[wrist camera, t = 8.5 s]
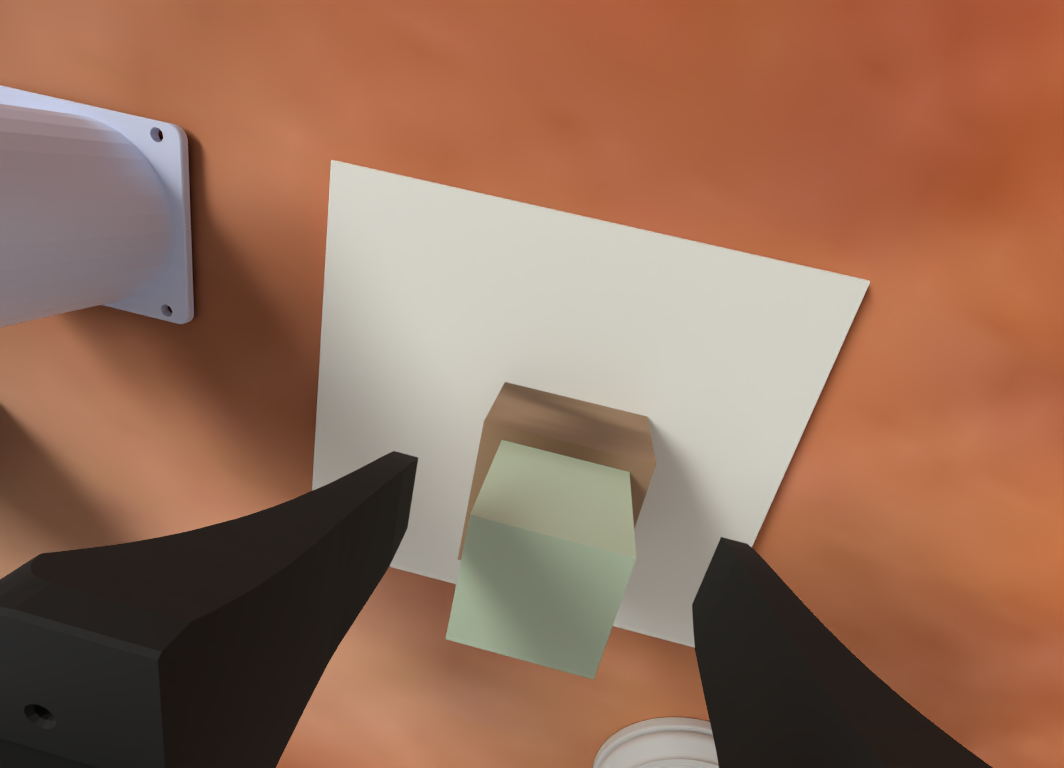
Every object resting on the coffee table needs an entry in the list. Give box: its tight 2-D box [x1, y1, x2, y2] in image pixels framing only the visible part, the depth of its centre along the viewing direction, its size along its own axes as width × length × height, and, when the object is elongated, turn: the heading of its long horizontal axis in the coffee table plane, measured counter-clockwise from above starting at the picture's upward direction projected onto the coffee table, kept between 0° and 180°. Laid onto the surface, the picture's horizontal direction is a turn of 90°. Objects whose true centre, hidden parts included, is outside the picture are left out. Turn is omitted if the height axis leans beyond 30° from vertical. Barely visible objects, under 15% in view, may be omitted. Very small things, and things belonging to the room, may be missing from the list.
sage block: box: [446, 440, 636, 680], centre depth 17 cm, size 4×4×4 cm
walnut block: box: [458, 382, 656, 560], centre depth 21 cm, size 6×6×4 cm
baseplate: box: [312, 160, 870, 648], centre depth 23 cm, size 20×18×1 cm
